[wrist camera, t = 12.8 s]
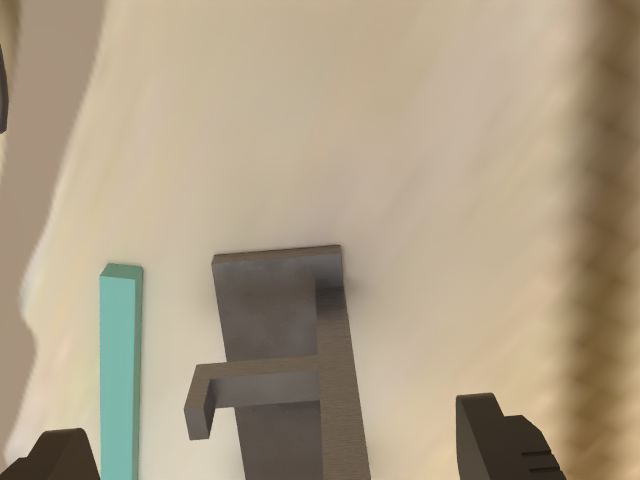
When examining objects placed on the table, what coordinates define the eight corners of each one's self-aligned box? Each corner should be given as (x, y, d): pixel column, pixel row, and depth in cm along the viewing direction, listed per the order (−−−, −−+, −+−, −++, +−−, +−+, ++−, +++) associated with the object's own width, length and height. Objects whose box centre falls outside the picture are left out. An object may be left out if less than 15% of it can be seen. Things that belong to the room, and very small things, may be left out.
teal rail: (143, 265, 43) (135, 279, 41) (138, 496, 51) (130, 518, 49) (110, 261, 43) (99, 275, 41) (109, 494, 51) (101, 516, 49)
